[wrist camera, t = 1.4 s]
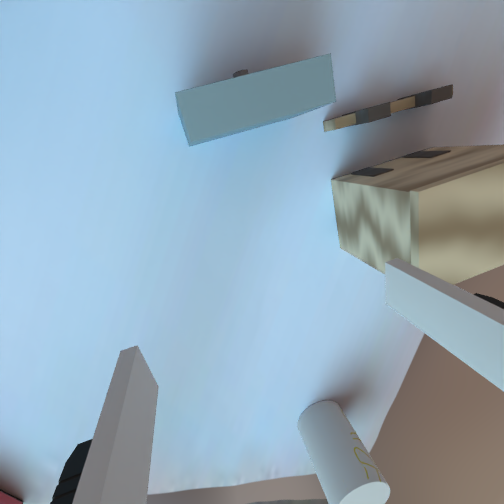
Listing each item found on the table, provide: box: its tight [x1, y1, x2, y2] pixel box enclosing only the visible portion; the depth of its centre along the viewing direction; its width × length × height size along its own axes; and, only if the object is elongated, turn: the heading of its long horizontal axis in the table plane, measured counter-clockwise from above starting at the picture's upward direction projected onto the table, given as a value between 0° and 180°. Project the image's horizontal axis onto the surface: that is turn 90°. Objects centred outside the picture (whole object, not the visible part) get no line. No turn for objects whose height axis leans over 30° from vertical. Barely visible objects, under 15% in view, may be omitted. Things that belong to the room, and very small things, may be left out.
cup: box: [297, 400, 390, 504], centre depth 39 cm, size 8×8×12 cm
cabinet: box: [323, 84, 504, 285], centre depth 26 cm, size 16×14×13 cm
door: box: [175, 53, 336, 147], centre depth 22 cm, size 4×11×9 cm, turn 105°
